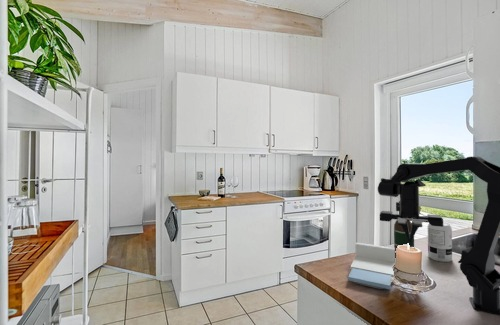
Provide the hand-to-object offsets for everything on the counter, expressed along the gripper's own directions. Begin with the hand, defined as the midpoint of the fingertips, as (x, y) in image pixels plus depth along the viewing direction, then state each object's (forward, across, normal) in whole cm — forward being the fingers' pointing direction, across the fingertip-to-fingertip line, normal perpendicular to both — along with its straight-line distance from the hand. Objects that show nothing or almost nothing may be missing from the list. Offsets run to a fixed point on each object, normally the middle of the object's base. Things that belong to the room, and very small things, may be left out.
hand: (409, 242), depth 89 cm
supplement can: (+13, -11, -27) cm, 32 cm away
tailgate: (+11, +12, +7) cm, 18 cm away
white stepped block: (+13, +12, 0) cm, 18 cm away
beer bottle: (+13, +2, -25) cm, 28 cm away
